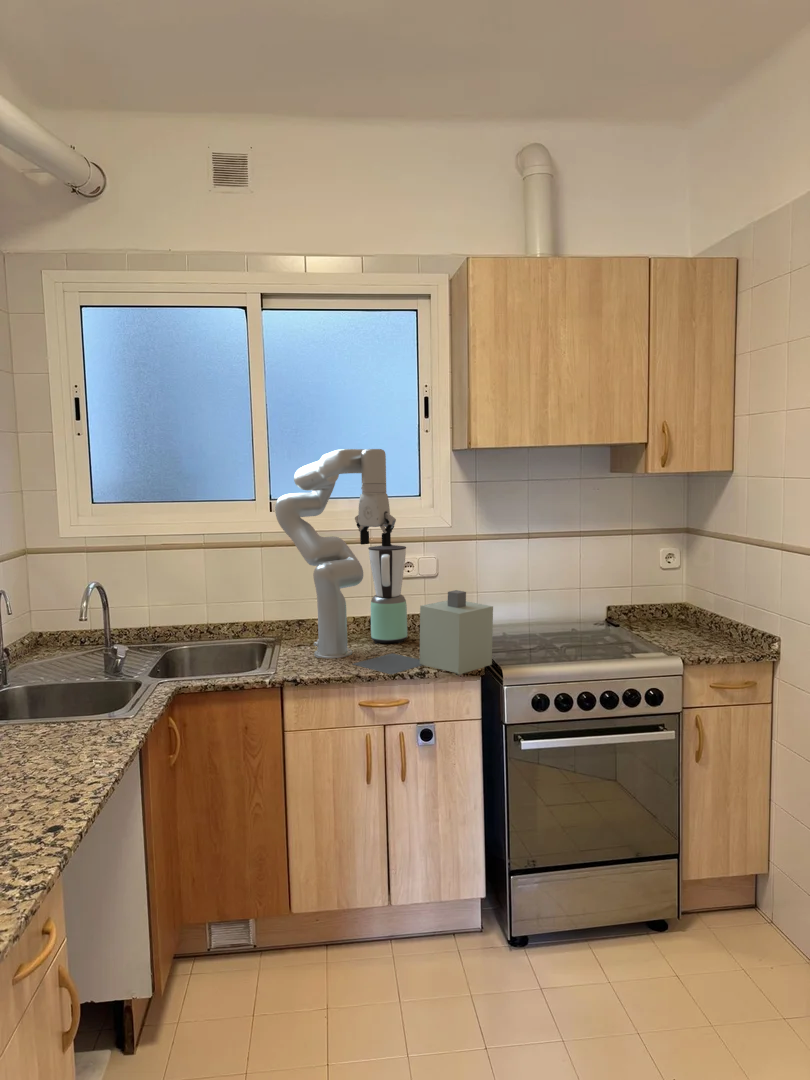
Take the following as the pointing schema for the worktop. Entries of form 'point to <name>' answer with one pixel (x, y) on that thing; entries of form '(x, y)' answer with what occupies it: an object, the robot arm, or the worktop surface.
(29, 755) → the worktop surface
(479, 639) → the cover
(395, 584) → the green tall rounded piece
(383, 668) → the mat
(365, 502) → the robot arm
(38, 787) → the worktop surface
